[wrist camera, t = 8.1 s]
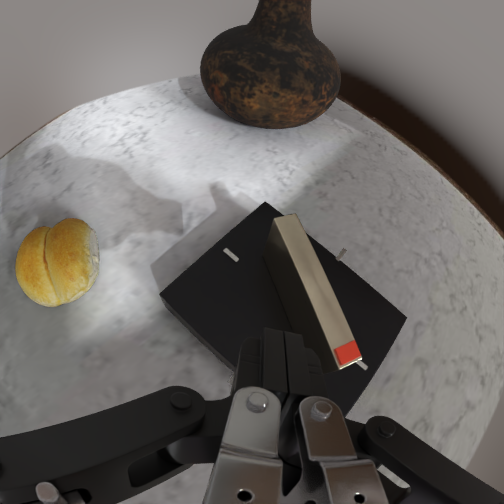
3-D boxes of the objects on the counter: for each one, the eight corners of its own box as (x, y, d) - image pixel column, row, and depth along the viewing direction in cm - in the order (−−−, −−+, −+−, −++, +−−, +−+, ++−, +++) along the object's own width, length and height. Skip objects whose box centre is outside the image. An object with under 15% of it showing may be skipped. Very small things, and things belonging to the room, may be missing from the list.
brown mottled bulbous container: (307, 84, 43) (347, -60, 18) (342, 154, 35) (423, -45, 10) (200, 79, 40) (212, -81, 15) (199, 150, 32) (214, -100, 7)
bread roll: (28, 241, 24) (10, 220, 20) (100, 222, 26) (87, 197, 22) (24, 316, 20) (0, 302, 17) (104, 301, 22) (86, 283, 19)
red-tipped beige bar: (262, 254, 23) (274, 215, 18) (280, 249, 23) (297, 210, 19) (311, 377, 19) (341, 369, 14) (330, 368, 19) (364, 358, 14)
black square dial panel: (155, 315, 22) (147, 303, 20) (267, 213, 28) (273, 193, 26) (305, 446, 19) (318, 452, 16) (394, 318, 25) (413, 307, 22)
